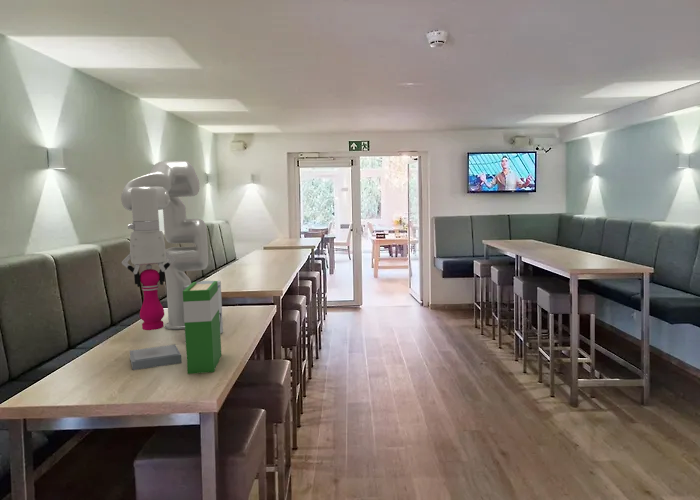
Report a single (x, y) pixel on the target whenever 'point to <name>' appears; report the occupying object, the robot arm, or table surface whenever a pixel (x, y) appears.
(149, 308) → the pepper mill
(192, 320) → the hardback book
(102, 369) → the table surface
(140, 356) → the slate stand
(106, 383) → the table surface
